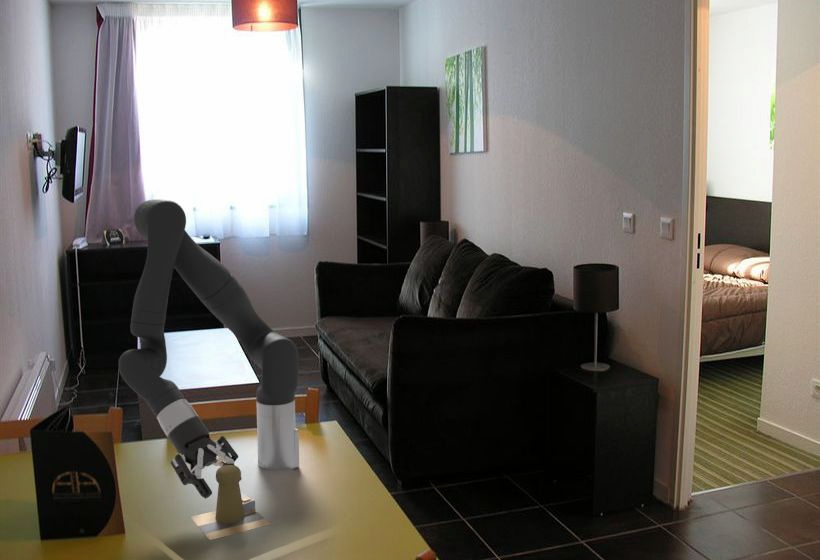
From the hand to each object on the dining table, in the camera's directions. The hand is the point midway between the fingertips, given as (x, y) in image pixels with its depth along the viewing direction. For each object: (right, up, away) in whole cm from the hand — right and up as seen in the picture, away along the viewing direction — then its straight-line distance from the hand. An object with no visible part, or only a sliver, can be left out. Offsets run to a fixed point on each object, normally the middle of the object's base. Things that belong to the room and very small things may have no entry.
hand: (224, 488), depth 172 cm
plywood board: (+1, -8, +1) cm, 8 cm away
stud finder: (+2, -6, +7) cm, 9 cm away
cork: (+1, -7, +2) cm, 7 cm away
